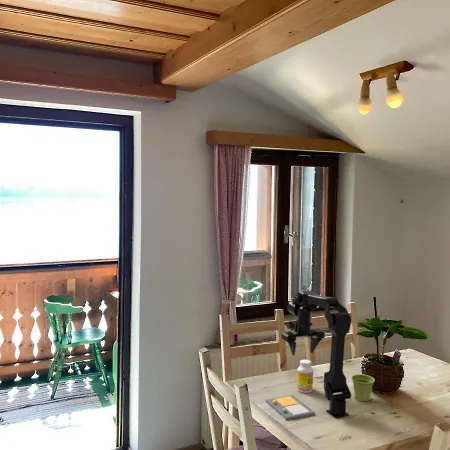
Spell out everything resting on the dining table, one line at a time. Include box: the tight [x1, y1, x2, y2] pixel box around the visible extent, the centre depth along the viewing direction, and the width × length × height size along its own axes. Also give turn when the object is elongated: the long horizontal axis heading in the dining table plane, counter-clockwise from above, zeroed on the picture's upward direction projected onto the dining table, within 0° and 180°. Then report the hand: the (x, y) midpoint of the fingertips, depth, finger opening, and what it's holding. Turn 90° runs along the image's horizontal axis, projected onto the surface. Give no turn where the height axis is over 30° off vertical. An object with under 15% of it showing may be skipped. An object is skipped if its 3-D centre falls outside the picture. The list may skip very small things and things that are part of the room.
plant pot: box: [351, 373, 376, 402], centre depth 206 cm, size 9×9×9 cm
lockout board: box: [265, 394, 316, 420], centre depth 197 cm, size 17×13×2 cm
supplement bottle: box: [296, 359, 314, 394], centre depth 214 cm, size 7×7×13 cm
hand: (302, 354), depth 216 cm, fingers open, 9 cm apart
